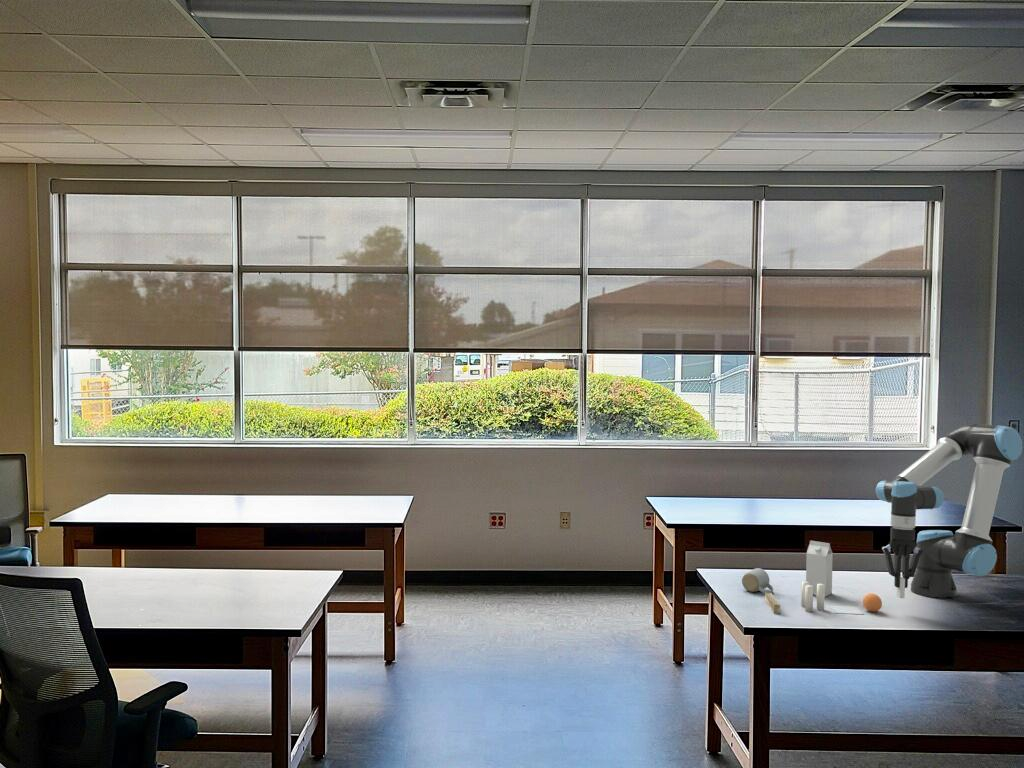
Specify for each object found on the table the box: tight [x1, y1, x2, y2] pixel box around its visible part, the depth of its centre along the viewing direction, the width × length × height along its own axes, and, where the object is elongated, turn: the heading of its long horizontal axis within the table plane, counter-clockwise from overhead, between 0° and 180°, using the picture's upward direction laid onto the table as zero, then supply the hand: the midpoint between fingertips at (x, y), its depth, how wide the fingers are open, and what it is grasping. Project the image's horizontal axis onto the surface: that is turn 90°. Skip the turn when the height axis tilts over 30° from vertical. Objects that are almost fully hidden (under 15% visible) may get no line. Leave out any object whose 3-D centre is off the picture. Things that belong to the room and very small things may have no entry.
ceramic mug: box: [741, 567, 774, 594], centre depth 292 cm, size 11×8×8 cm
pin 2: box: [804, 585, 814, 613], centre depth 269 cm, size 2×2×8 cm
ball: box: [862, 593, 883, 613], centre depth 269 cm, size 6×6×6 cm
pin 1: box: [800, 580, 809, 608], centre depth 274 cm, size 2×2×8 cm
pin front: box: [816, 584, 825, 611], centre depth 271 cm, size 2×2×8 cm
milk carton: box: [805, 540, 834, 598], centre depth 290 cm, size 7×7×19 cm
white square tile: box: [828, 605, 864, 615], centre depth 270 cm, size 9×8×1 cm
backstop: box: [764, 593, 781, 615], centre depth 272 cm, size 2×14×3 cm, turn 174°
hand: (900, 597), depth 268 cm, fingers closed
